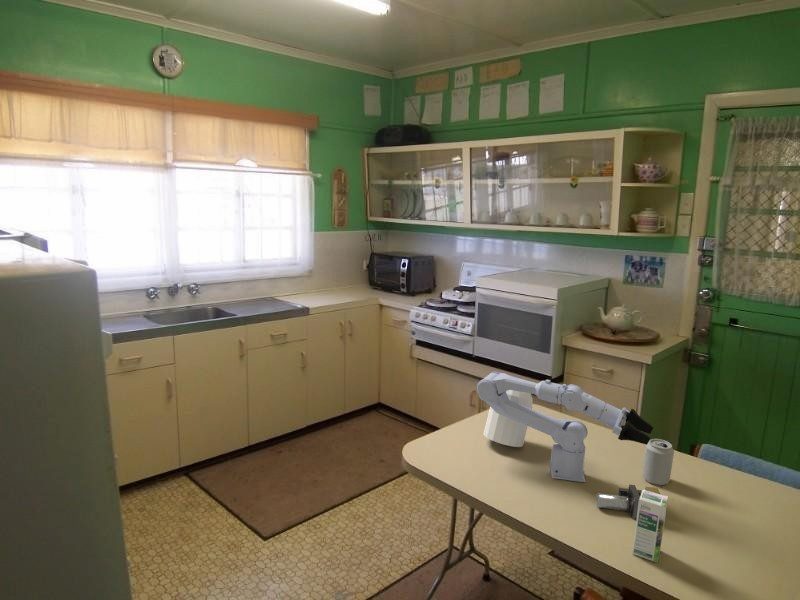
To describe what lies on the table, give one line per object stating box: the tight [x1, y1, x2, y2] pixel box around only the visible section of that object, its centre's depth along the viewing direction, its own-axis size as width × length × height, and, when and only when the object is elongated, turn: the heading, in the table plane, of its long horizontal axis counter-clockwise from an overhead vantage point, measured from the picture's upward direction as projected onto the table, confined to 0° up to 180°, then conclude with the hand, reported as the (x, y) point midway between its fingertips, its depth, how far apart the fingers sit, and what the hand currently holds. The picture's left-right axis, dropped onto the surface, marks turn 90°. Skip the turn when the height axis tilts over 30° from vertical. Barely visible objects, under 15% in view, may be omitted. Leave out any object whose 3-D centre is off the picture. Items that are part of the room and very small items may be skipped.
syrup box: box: [631, 489, 669, 563], centre depth 127 cm, size 6×6×14 cm
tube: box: [596, 492, 634, 513], centre depth 145 cm, size 12×4×4 cm, turn 79°
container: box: [483, 390, 533, 448], centre depth 180 cm, size 14×13×20 cm
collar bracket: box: [617, 484, 661, 520], centre depth 145 cm, size 10×10×6 cm
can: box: [641, 438, 675, 486], centre depth 160 cm, size 8×8×12 cm
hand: (650, 435), depth 150 cm, fingers open, 7 cm apart
